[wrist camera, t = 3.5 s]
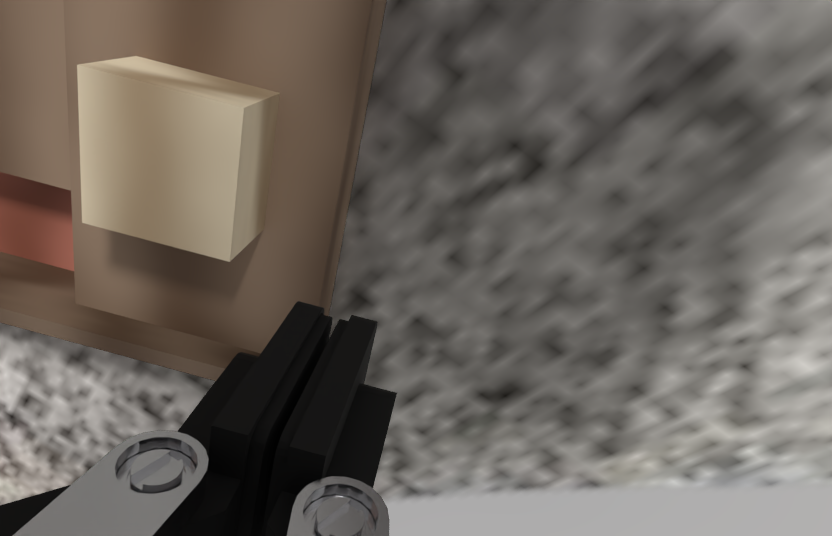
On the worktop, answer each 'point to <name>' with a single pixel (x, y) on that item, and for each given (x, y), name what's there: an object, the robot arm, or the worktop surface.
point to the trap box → (150, 261)
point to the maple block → (174, 154)
